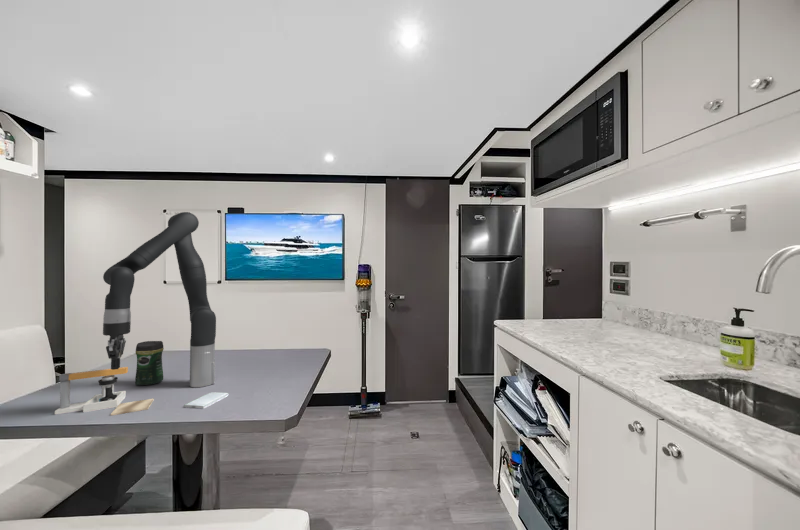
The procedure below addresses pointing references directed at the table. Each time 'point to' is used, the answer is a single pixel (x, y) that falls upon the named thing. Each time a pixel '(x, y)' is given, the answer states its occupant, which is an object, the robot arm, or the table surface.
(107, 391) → the push button
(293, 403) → the table surface
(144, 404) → the wood pad
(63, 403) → the socket housing
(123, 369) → the bar
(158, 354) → the coffee jar
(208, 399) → the hard drive
